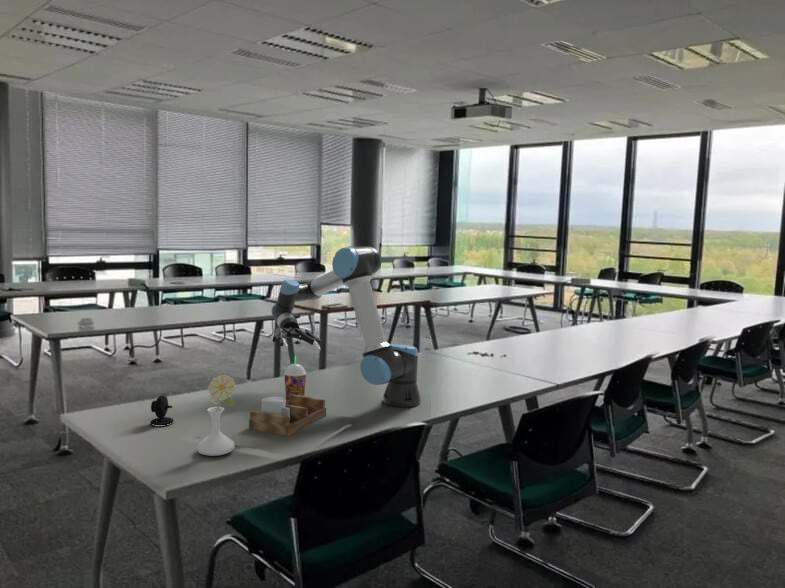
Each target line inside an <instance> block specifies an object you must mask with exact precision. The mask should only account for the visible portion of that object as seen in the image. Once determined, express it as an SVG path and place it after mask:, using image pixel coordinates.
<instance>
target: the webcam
mask: <svg viewBox="0 0 785 588" xmlns="http://www.w3.org/2000/svg"><path fill="white" fill-rule="evenodd" d="M168 400H169V399H168V397H167V396H166V395H159V396H158V397H157V398H156V400H152V401H151V404H150V411H151V412H152V413H154V414H155V416H156V418H153V419H151V420H150V423H151V424H154V425H167V424H170V423H172V422H173V423H174V418H171V417H170V416H169V417H168V416H166V415H167V414H168V413H167V412H168V410H169V409H172V408H173V406H172V405H169V401H168ZM156 421H159V422H156ZM173 423H172V424H173ZM151 424H150V425H151Z"/></svg>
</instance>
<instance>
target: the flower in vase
mask: <svg viewBox="0 0 785 588" xmlns="http://www.w3.org/2000/svg"><path fill="white" fill-rule="evenodd" d="M236 388H237V385H236V382H235V379H234V378H232V377H231V376H229V375H225V374H221V375H217V376H216V377H213V378H212V380H211V381H210V382H209V385H208V388H207V390H208V393H209V394H210V395H209V396H210V397H211V398H213V399H214V400H217V401H221V402H220V403H219V404H218V403H217V402H216V401H213V400H212V399H209V398H207V400H208V401H210V402H211V403H212V404H215V405H217V406H212V407H211V406H210V407H208V408H207V409H206V410H207V412H208V413H209V416H210V419H211V431H210V433H209V434H208V435H207V436H205V438H203V439H202V440H201V441H200V442H199V443H198V444H197V447H196V451H197V452H198V453H199V454H201V455H204V456H208V457H209V456H210V457H211V456H212V457H215V456H222V455H226V454H228V453H230V452H232V451H233V450H234V449H235V447H236V445H235V442H234V441H233V440H232V439H231V438H230V437H228V436H226V435H225V434H224V433H222V431H221V428H220V426H221V425H220V423H221V416H222V413H223V412H224V410H225V408H224V407H221V405H222V403H223V404H224V406H225V407H227V408H230V407H234V406H236V403H235V402H234V401H233V400H232V398H230V397H232V396H233V393H234V392H235V390H236Z"/></svg>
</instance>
